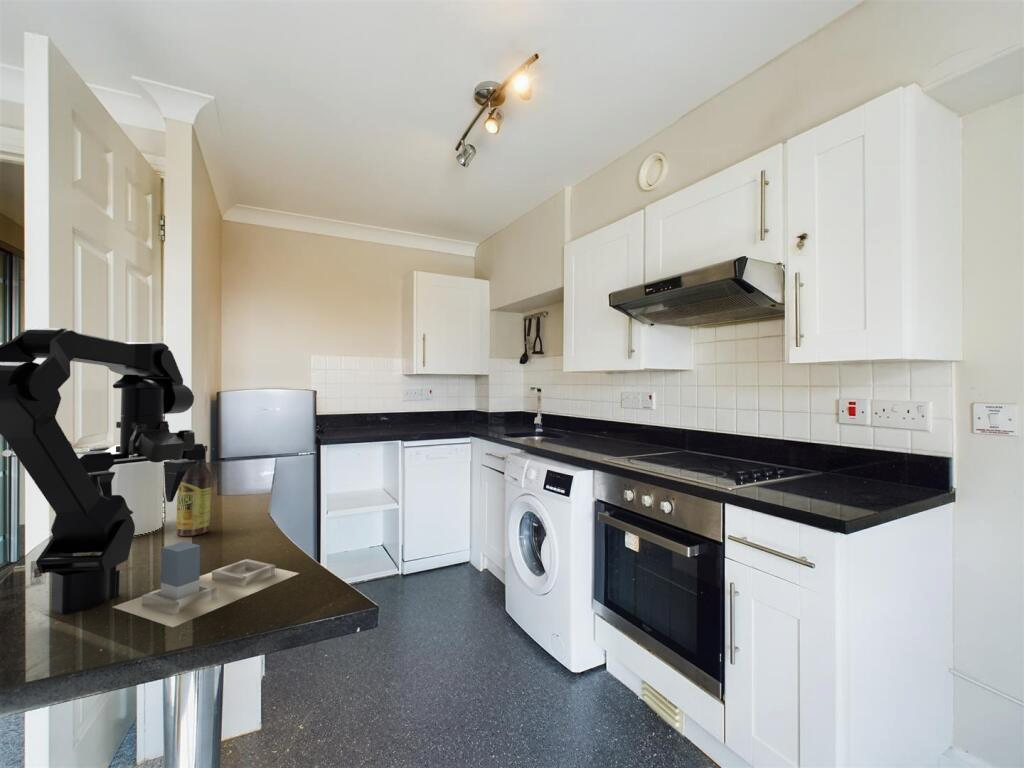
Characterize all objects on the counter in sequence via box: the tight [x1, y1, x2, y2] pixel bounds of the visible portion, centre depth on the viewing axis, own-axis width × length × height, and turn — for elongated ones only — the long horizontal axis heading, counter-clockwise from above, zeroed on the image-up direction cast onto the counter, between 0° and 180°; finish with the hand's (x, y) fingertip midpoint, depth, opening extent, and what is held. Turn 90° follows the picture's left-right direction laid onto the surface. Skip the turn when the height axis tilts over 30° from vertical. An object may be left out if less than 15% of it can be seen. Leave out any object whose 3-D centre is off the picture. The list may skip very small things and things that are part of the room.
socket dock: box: [112, 558, 300, 628], centre depth 72 cm, size 20×14×2 cm
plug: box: [160, 541, 201, 601], centre depth 68 cm, size 3×4×8 cm
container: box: [104, 444, 164, 535], centre depth 106 cm, size 14×13×20 cm
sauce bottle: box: [175, 443, 212, 537], centre depth 104 cm, size 7×6×20 cm
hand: (140, 507), depth 79 cm, fingers open, 9 cm apart
